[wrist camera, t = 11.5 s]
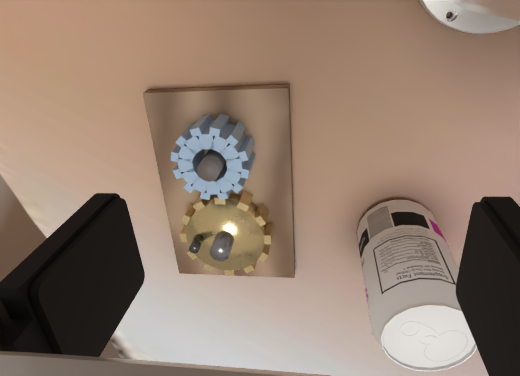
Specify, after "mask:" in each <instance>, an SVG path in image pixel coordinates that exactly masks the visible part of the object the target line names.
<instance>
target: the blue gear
mask: <svg viewBox="0 0 520 376" xmlns="http://www.w3.org/2000/svg"><path fill="white" fill-rule="evenodd" d="M245 128H246V126H244V125H243V124H242V123H241V122H240V121H238V123H237V124H236V125H233V124H231V123H229V116H228V115H224V114H220V115H219V116H218V118H217V119H216V120H212V117H211V115H210V114H208V115H205V116H202V117H201V118H200V119H199V120H198V121H197V122H196V123H195V122H193V123H192V124H191V125H190V126H189V128H188V129H187V130H186V131H185V132H184V133H183V134H182V135H181V136H180V138H179V139H178V140H177V141H176V142H175V143H176V144H177V146H176V147H175V148H174V150H173V151H172V152H171V161H174V162H178V164H177V166H176V167H175V168H174V170H173V173H174V175H175V177H176V179H179V178H184V180H185V181H186V184H185V185H184V187H183V188H184V189H186V190H187V191H188V192H189V193H191V192H192V191H193V190H194V189H196V190H198V191H200V192H201V196H200V198H202V199H206V200H210V198H211V196H212V194H217V195H218V198H219V200H223V199H228V198H229V196H230V193H231V191H232V190H233V191H234V192H236V193H238V192H239V191H240V190H241V189H242V188H243V186H244V184H245V181H246V179H248V177H249V174H250V171H251V169H252V166H253V163H254V160H255V155H256V153H252V150H253V148H254V145H255V142H254V140H253V137H252V136H249V137H245V136H244V134H243V132H244V130H245ZM204 149H213V150H215V151H217V152H219V153H221V155H222V156H223V157H224V159H225V160H226V164H224V166H223V168H222V170H221V172H220V174H219V176H218V177H217V179H216V180H214V181H210V182H209V181H204V180H203V179H201V178H200V177H199V175H198V173H197V167H198V165H199V164H200V162H201V161H202V159H203V158H204V156H205V155H206V154H205V151H204Z"/></svg>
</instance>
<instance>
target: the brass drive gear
mask: <svg viewBox="0 0 520 376" xmlns="http://www.w3.org/2000/svg"><path fill="white" fill-rule="evenodd" d="M200 196H201V194H199V196H198V198H197V199H196V201H195V203H194V204H193V203H191V204H190V206H189V208H188V209H187V211H186V213H185V214H184V217H183V219H182V221H181V223H183V224H185V225H184V226H183V228H182V230H181V232H180V239H181V242H188V244H189V249H188V251H187V254H188V255H189V256H190V258H191V259H192V260H194V259H196V258H199V259H200V260H201V261H203V262H204V263H205V264H204V267H203V268H204V269H206V270H209V271H211V272H212V271H213V269H214V268H217V269H221V270H224V274H225V275H231V276H234V275H235V272H236V270H240V269H244V271H245V272H246V273H249V272H251V271H253V270H255V267H256V263H257V260H260V261H262V262H264V261H265V260H266V258H267V257H268V255H269V249H270V244H271V243H272V238H273V232H274V227H273V223H270V222H267V218H268V214H269V210H268V209H267V208H266V206H265V205H264V204H261V205H259V206H257V205H256V204H255V203H253V202H252V201H251V199H252V196H253V194H251V193H249V192H247V191H245V190H243V192H242V194H241V195H238V194H234V193H230V196H229V198H228V199H223V200H219V198H218V195H217V194H213V195H212V196H211V198H210V200H206V199H202V198H200Z"/></svg>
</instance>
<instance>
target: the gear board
mask: <svg viewBox="0 0 520 376" xmlns="http://www.w3.org/2000/svg"><path fill="white" fill-rule="evenodd" d="M143 97H144V102H145V107H146V112H147V116H148V121H149V126H150V131H151V136H152V141H153V146H154V151H155V156H156V161H157V166H158V170H159V175H160V180H161V185H162V190H163V195H164V200H165V205H166V210H167V215H168V220H169V224H170V229H171V234H172V239H173V244H174V249H175V254H176V259H177V264H178V269H179V273H185V274H211V275H225V274H224V270H221V269H217V268H214V269H213V271H212V272H211V271H209V270H206V269H204V268H203V267H204V264H205V263H204V262H203V261H201V260H200V259H199V258H196V259H194V260H192V259H191V258H190V256H189V255H188V254H187V251H188V249H189V244H188V242H181V239H180V232H181V230H182V228H183V226H184V225H185V224H183V223H181V221H182V219H183V217H184V214H185V213H186V211H187V209H188V208H189V206H190V204H191V203H193V204H194V203H195V201H196V199H197V198H198V196H199V194H201V192H200V191H198V190H196V189H194V190H193V191H192V192H191V193H189V192H188V191H187V190H186V189H184V188H183V187H184V185H185V184H186V181H185V180H184V178H179V179H176V177H175V175H174V173H173V170H174V168H175V167H176V166H177V164H178V162H174V161H171V152H172V151H173V150H174V148H175V147H176V146H177V144H176V143H175V142H176V141H177V140H178V139H179V138H180V136H181V135H182V134H183V133H184V132H185V131H186V130H187V129H188V128H189V126H190V125H191V124H192V123H193V122H195V123H196V122H197V121H198V120H199V119H200V118H201V117H202V116H205V115H208V114H210V115H211V117H212V120H216V119H217V118H218V116H219V115H220V114H224V115H228V116H229V123H231V124H233V125H236V124H237V123H238V121H240V122H241V123H242V124H243V125H244V126H246V128H245V130H244V132H243V134H244V136H245V137H249V136H252V137H253V140H254V142H255V145H254V148H253V150H252V153H256V155H255V160H254V163H253V166H252V169H251V171H250V174H249V177H248V179H246V181H245V184H244V186H243V188H242V189H241V190H240V191H239V192H238V193H236V192H234V191H233V190H232V191H231V193H234V194H238V195H241V194H242V192H243V190H245V191H247V192H249V193H251V194H253V196H252V199H251V201H252V202H253V203H255V204H256V205H257V206H259V205H261V204H264V205H265V206H266V208H267V209H268V210H269V214H268V218H267V222H270V223H273V227H274V232H273V238H272V243H271V244H270V249H269V255H268V257H267V258H266V260H265V261H264V262H262V261H260V260H257V263H256V267H255V270H253V271H251V272H249V273H246V272H245V271H244V269H240V270H236V272H235V275H236V276H262V277H288V278H294V277H295V249H294V217H293V185H292V152H291V120H290V88H289V84H284V85H257V86H229V87H202V88H174V89H149V90H147V91H145V92H144V93H143ZM204 151H205V154H206V155H205V156H204V158H203V159H202V161H201V162H200V164H199V165H198V167H197V173H198V175H199V177H200V178H201V179H203V180H204V181H209V182H210V181H214V180H216V179H217V177H218V176H219V174H220V172H221V170H222V168H223V166H224V164H226V160H225V159H224V157H223V156H222V155H221V153H219V152H217V151H215V150H213V149H204ZM212 195H213V194H212Z"/></svg>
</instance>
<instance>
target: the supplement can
mask: <svg viewBox="0 0 520 376" xmlns="http://www.w3.org/2000/svg"><path fill="white" fill-rule="evenodd" d="M357 236H358V243H359V250H360V257H361V263H362V270H363V277H364V283H365V290H366V297H367V304H368V310H369V317H370V324H371V330H372V335H373V336H374V338H375V339H376V341H377V342H378V343H379V345H380V346H381V347H382V348H383V350H384V351H385V353H386V354H387V356H388V357H389V358H390V359H391V360H393V361H394V362H396V363H397V364H399V365H400V366H403V367H406V368H409V369H412V370H416V371H429V372H433V371H439V370H446V369H449V368H452V367H454V366H457V365H459V364H462V363H463V362H464V361H466V360H467V359H468V358H469V357H471V356H472V355H473V354H474V352H475V350H476V349H477V346H476V343H475V341H474V338H473V336H472V334H471V331H470V329H469V327H468V324H467V322H466V319H465V317H464V315H463V312H462V310H461V308H460V305H459V303H458V300H457V297H456V282H457V277H458V272H459V267H458V265H457V263H456V261H455V259H454V257H453V255H452V253H451V251H450V249H449V247H448V245H447V243H446V241H445V239H444V237H443V235H442V233H441V231H440V229H439V227H438V224H437V222H436V221H435V219H434V217H433V215H432V213H431V212H430V211H429V210H428V209H426V208H425V207H424V206H422V205H421V204H419V203H416V202H412V201H409V200H390V201H387V202H383V203H380V204H378V205H376V206H375V207H373V208H372V209H370V210H369V211H367V213H366V214H365V215H364V216H363V218H362V219H361V220H360V223H359V226H358V230H357Z"/></svg>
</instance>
